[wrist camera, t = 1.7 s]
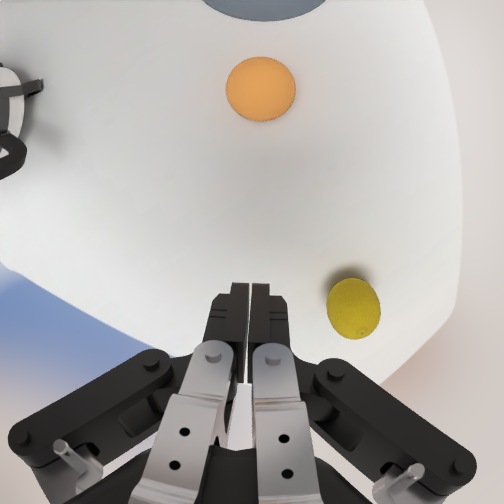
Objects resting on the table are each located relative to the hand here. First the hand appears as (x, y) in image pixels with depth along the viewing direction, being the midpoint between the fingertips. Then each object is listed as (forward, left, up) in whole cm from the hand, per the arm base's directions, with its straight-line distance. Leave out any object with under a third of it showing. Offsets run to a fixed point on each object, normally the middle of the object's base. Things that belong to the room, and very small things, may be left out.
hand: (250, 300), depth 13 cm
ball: (0, +10, -14) cm, 17 cm away
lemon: (+10, -10, -17) cm, 22 cm away
